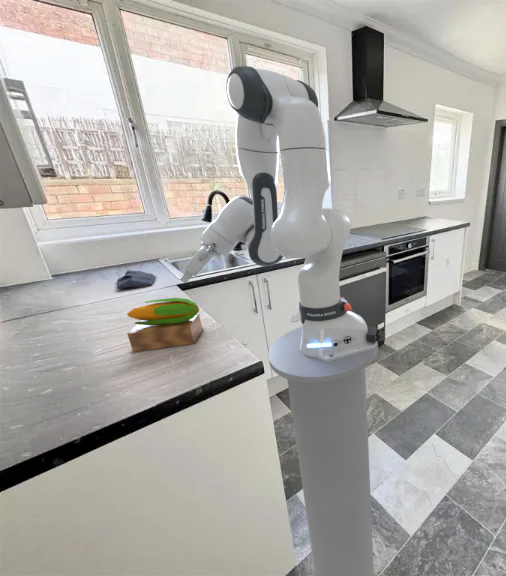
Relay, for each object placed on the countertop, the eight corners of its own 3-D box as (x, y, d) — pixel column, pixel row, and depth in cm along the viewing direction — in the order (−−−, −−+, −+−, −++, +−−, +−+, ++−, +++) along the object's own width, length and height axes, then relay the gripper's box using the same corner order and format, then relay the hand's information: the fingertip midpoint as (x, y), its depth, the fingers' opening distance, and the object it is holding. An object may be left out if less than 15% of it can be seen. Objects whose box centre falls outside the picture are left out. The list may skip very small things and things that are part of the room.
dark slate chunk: (112, 292, 139) (109, 282, 138) (118, 280, 157) (116, 271, 155) (153, 285, 147) (151, 276, 146) (155, 275, 165) (153, 266, 163)
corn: (190, 300, 90) (114, 305, 87) (195, 324, 92) (121, 330, 89) (200, 293, 97) (130, 298, 94) (204, 316, 99) (136, 321, 96)
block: (202, 329, 103) (198, 312, 101) (194, 343, 94) (189, 325, 92) (147, 336, 99) (142, 319, 97) (133, 352, 90) (127, 333, 88)
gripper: (220, 255, 83) (188, 293, 84) (232, 242, 102) (206, 273, 102) (198, 240, 81) (165, 280, 81) (215, 229, 99) (188, 262, 100)
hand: (188, 276), depth 92 cm, fingers open, 8 cm apart
